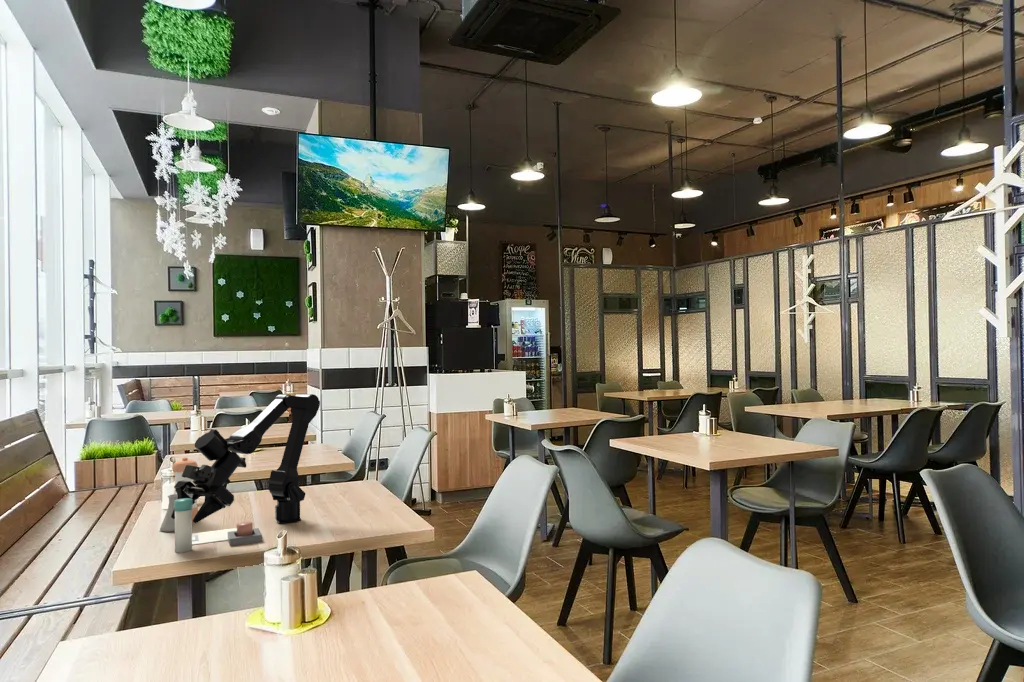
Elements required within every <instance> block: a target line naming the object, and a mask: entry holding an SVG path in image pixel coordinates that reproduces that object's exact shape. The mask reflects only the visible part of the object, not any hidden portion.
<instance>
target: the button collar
mask: <svg viewBox="0 0 1024 682" xmlns="http://www.w3.org/2000/svg"><path fill="white" fill-rule="evenodd" d="M227 541H228V544H229V546H230V547H231V546H239V545H246V544H254V543H262V542H263V534H262V532H261V530H260V529H259V527H258V528H257V527H256V528H255V527H254V528H253V534H252V535H246V536H239V537H238V536H237V531H231V532H228V540H227Z"/></svg>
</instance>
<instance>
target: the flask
mask: <svg viewBox="0 0 1024 682" xmlns="http://www.w3.org/2000/svg"><path fill="white" fill-rule="evenodd" d="M167 498H168V504H167V505H168V506H167V510H166V513H165V515H164V518H163V519H162V520H163V521H162V523H161V525H160V528H159V531H160V532H175V519H173V518H171V515H172V513H173V510H174V501H175V500H177V498H178V495H177V494H174V493H173V494H169V495H167Z"/></svg>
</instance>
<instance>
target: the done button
mask: <svg viewBox="0 0 1024 682" xmlns="http://www.w3.org/2000/svg"><path fill="white" fill-rule="evenodd" d="M236 528H237V536H238V537H239V536H246V535H252V534H253V529H254V528H253V522H252V521H244V522H243V521H242V522H240V523H236Z"/></svg>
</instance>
